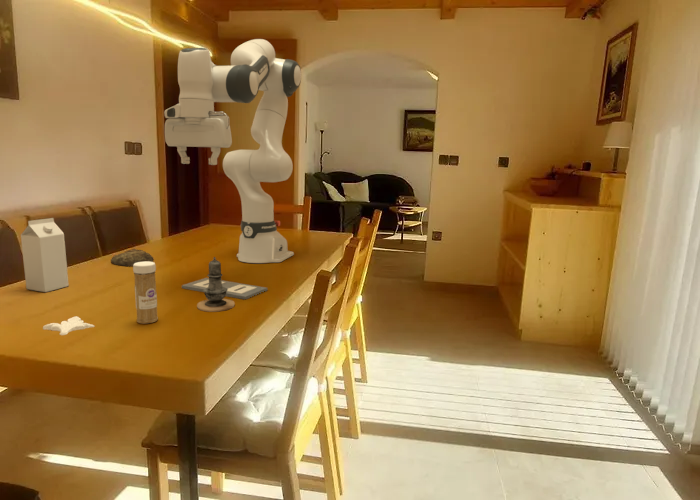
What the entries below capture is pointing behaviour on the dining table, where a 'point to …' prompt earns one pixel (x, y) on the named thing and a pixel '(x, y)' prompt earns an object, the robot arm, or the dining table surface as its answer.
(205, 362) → the dining table surface
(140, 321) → the sprinkles bottle
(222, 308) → the coaster
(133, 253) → the bread roll
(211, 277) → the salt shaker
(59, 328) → the acanthus leaf ornament
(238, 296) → the label board
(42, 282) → the milk carton
